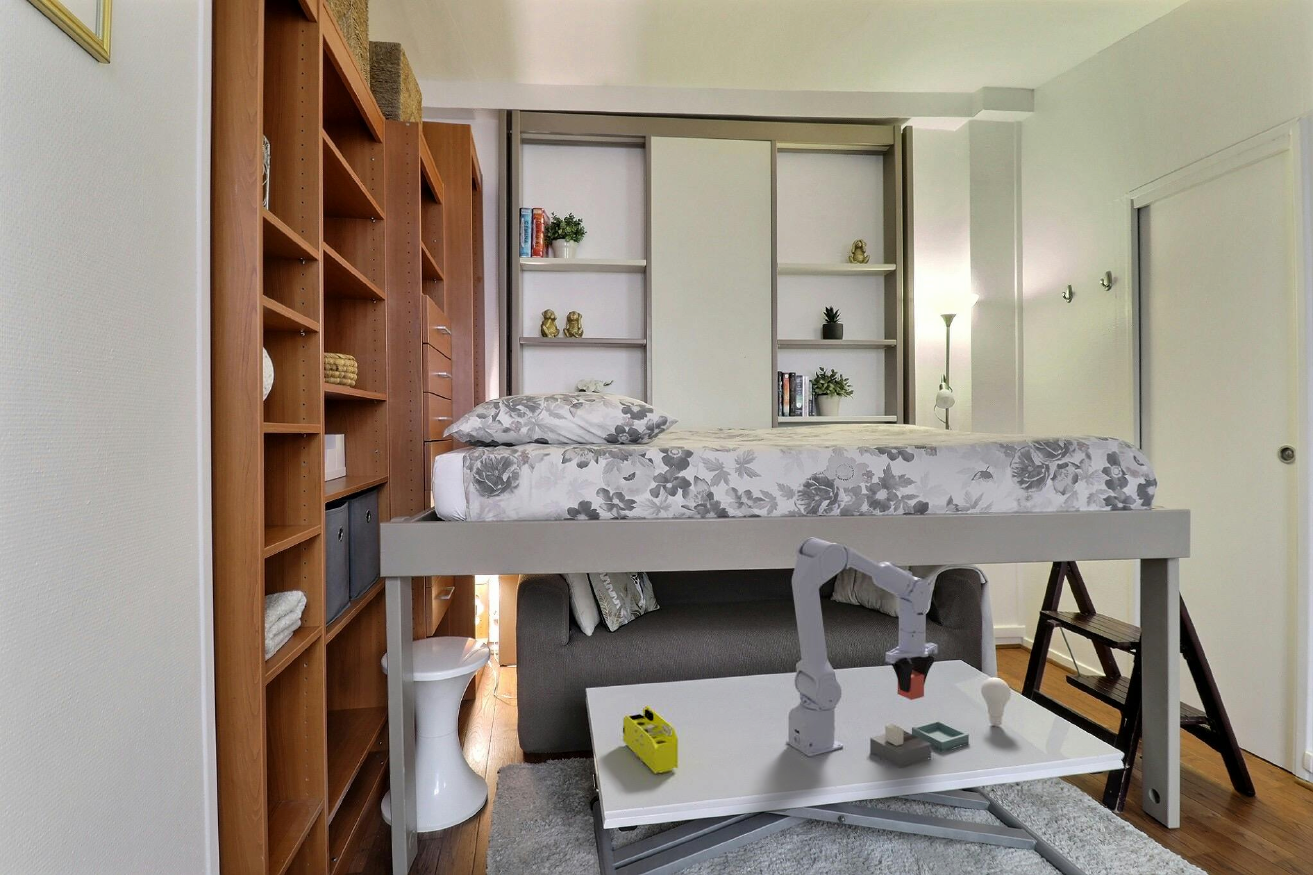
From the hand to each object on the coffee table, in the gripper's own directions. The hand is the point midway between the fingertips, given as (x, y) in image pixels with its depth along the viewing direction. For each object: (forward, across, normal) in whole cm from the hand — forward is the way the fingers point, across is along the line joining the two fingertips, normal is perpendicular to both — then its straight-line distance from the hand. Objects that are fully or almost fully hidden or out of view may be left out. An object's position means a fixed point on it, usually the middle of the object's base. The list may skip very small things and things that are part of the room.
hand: (911, 688), depth 164 cm
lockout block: (+2, 0, 0) cm, 2 cm away
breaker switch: (+6, -14, -8) cm, 17 cm away
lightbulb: (+9, +18, -8) cm, 22 cm away
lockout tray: (+9, +1, -7) cm, 12 cm away
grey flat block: (+9, -12, -8) cm, 17 cm away
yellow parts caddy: (+9, -59, +16) cm, 62 cm away
